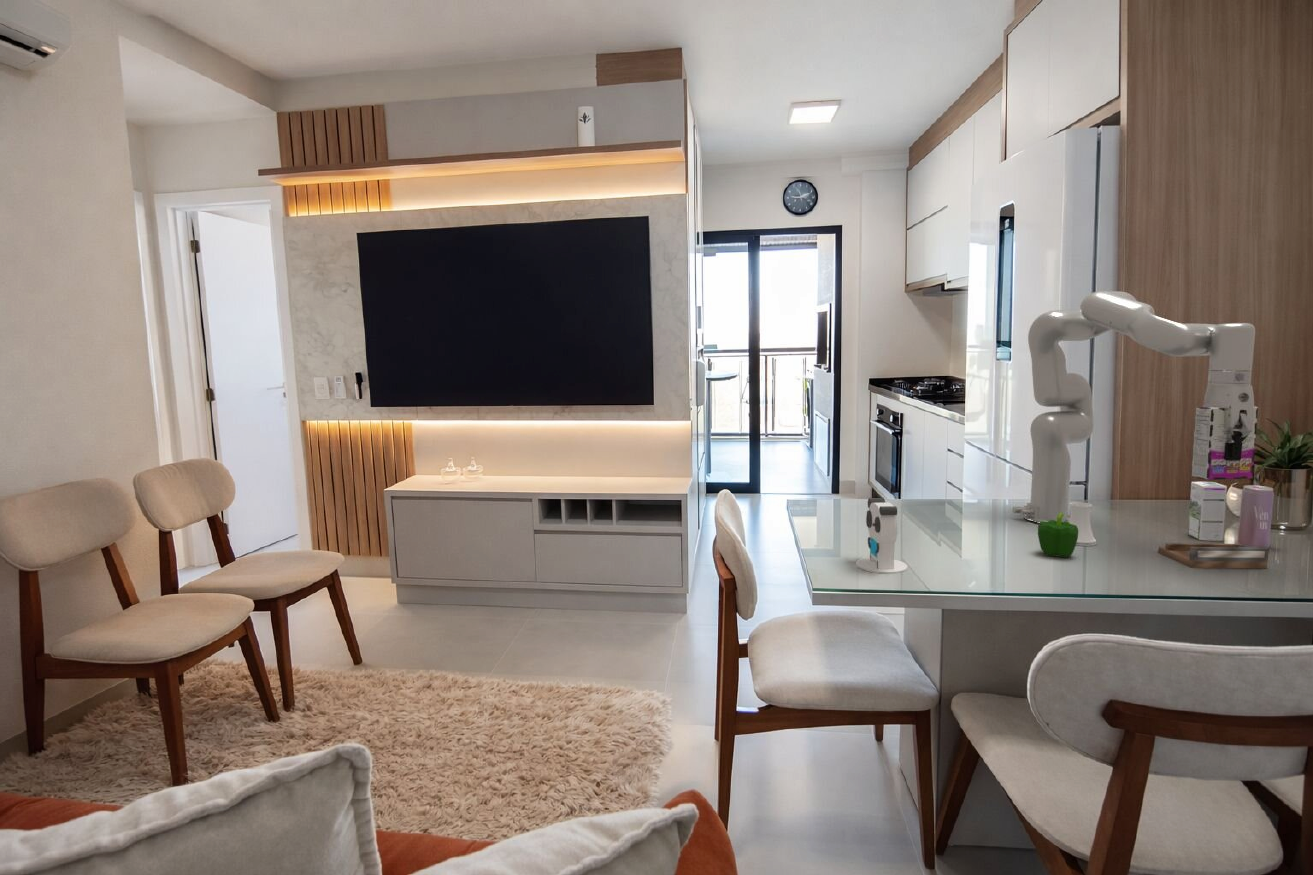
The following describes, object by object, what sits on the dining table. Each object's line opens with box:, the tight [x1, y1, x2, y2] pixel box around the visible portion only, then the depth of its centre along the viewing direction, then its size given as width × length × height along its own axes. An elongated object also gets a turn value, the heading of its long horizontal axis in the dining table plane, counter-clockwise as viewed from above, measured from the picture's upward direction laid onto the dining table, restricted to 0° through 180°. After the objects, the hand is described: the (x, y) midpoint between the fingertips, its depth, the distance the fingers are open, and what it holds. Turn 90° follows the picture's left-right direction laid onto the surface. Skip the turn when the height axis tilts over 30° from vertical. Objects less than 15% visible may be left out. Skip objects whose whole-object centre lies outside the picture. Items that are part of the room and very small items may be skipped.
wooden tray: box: [1157, 542, 1270, 569], centre depth 163 cm, size 16×12×4 cm
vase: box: [1069, 501, 1097, 547], centre depth 180 cm, size 8×8×10 cm
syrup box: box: [1187, 481, 1228, 542], centre depth 182 cm, size 6×6×14 cm
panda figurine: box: [855, 497, 909, 575], centre depth 162 cm, size 12×11×15 cm
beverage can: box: [1237, 484, 1275, 549], centre depth 173 cm, size 6×6×15 cm
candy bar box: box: [1190, 406, 1259, 481], centre depth 159 cm, size 11×5×16 cm, turn 95°
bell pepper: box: [1037, 513, 1078, 558], centre depth 168 cm, size 8×8×10 cm
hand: (1222, 457), depth 160 cm, fingers closed on candy bar box, 5 cm apart
